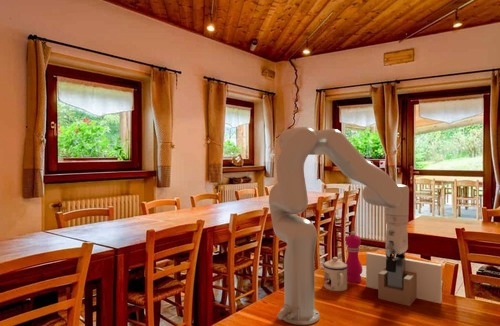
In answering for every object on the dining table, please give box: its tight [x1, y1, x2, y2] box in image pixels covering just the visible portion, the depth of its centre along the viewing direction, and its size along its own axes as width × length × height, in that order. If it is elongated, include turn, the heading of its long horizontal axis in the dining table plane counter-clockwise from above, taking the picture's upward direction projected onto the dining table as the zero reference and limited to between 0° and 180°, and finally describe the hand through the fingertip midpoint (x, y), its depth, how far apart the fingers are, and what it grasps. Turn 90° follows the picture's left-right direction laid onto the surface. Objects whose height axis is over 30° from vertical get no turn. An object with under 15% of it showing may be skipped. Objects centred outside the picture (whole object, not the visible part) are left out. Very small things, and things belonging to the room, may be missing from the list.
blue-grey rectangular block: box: [388, 257, 406, 289], centre depth 129 cm, size 4×5×10 cm
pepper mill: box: [345, 231, 363, 284], centre depth 149 cm, size 7×7×20 cm
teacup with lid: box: [323, 256, 348, 292], centre depth 139 cm, size 12×9×12 cm
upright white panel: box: [365, 252, 443, 307], centre depth 130 cm, size 11×26×13 cm, turn 51°
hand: (395, 268), depth 128 cm, fingers open, 9 cm apart
